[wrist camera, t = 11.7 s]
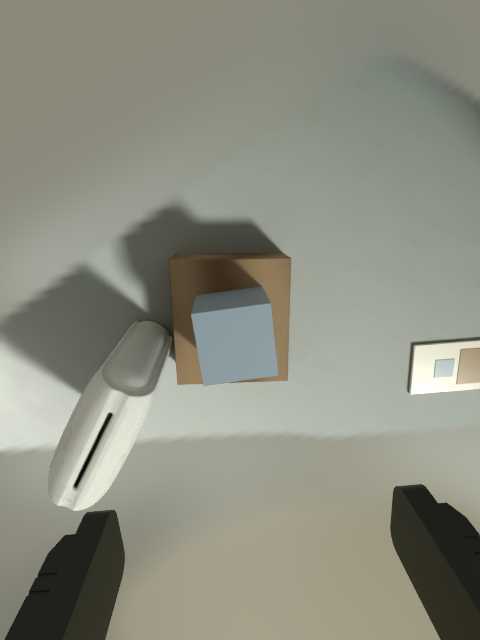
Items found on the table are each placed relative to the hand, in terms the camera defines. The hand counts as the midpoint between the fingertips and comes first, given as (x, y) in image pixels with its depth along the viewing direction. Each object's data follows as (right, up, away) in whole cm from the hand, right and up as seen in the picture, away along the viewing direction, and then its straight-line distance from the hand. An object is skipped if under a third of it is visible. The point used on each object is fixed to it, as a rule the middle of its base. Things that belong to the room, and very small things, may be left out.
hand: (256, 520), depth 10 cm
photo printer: (-10, +1, +22) cm, 24 cm away
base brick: (-1, +7, +21) cm, 22 cm away
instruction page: (+20, +1, +24) cm, 31 cm away
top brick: (-1, +6, +17) cm, 18 cm away
